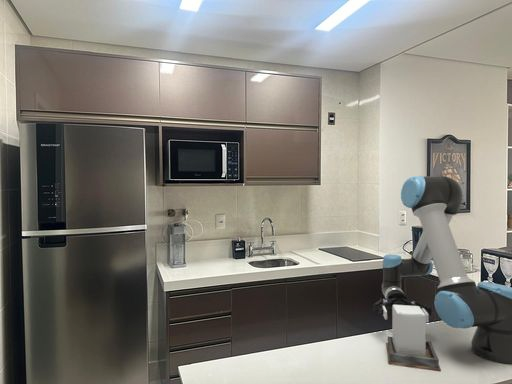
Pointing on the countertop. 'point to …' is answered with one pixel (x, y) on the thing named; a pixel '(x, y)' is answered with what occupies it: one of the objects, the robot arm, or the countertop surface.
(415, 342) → the supplement box
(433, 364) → the gray rimmed tray
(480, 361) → the countertop surface
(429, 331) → the countertop surface
